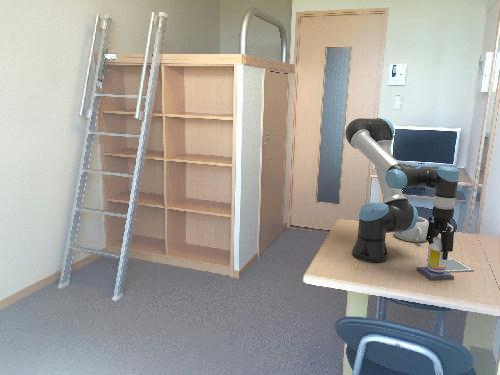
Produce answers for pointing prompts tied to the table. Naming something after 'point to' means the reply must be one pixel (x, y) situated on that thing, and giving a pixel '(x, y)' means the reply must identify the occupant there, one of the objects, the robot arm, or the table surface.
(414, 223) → the robot arm
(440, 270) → the supplement bottle
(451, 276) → the ink pad
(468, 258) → the table surface
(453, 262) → the board
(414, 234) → the mug
